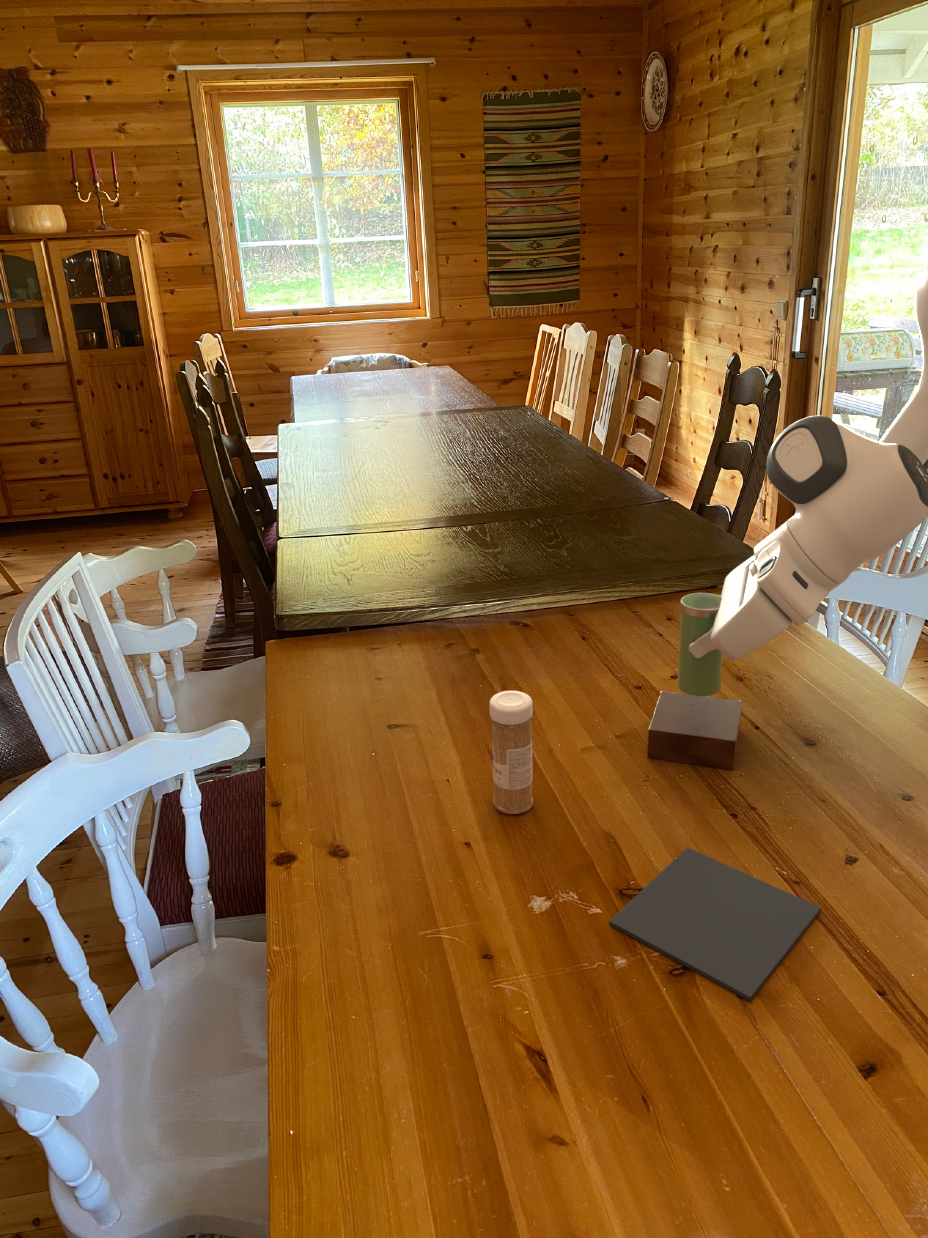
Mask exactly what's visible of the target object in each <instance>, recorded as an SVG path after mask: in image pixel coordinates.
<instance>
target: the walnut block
mask: <svg viewBox="0 0 928 1238" xmlns="http://www.w3.org/2000/svg"><path fill="white" fill-rule="evenodd" d="M742 709H743V700H739V699H730V698H724V697H714V696H694V695H690V694H687V693H683V692H682V693H680V692H673V691H665V690H662V691H660V694H659V697H658V700H657V703H656V706H655V709H654V712H653V715H652V718H651V721H650V724H649V727H648V732H647V752H646V753H647V755H646V757H647V759H650V760H651V759H653V760H659V761H665V762H672V763H673V762H674V763H679V764H680V763H681V764H686V765H693V766H701V767H706V768H715V769H722V770H726V771H734V768H735V762H736V756H737V749H738V743H739V736H740V731H741V721H742Z"/></svg>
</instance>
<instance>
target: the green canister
mask: <svg viewBox="0 0 928 1238" xmlns="http://www.w3.org/2000/svg"><path fill="white" fill-rule="evenodd" d="M721 600H722V597H721V595H718V594H715V593H708V592H694V593H689V594H686V595H684V596H682V597H681V598H680V608H679V609H680V625H679V643H678V644H679V647H678V665H677V666H678V667H677V688H678V690H680V691H681V692H682V693H683V694H690V695H694V696H707V697H710V696H714V695H716V694H717V693H719V692H720V691H721V689H722V688H721V687H722V676H723V675H722V673H723V659H724V654H723V653H722V652H721V651H720V650H719V649H715V650H712V651H709V652H708V653H706V654H705V655H704V656H702V657H701V658H696V657H695V656H694V655H693V654H692V653H691V652H690V651H689V646H690V643H691V641H693V640H694V639H696V638H697V637H698V636H699V635H701V636H702V635H704V634H706V633H707V632H709V631H710V629H711V628H712V627H713V626H714V622H715V618H716V613H717V611H718V610H719V608H720V604H721Z"/></svg>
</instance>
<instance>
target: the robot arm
mask: <svg viewBox="0 0 928 1238" xmlns="http://www.w3.org/2000/svg"><path fill="white" fill-rule="evenodd" d="M914 315H915V319H916V325H917V327H918V331H919V335H920V341H921V347H922V371H921V375H920V378H919V382H918V385H917V387H916V388H915V391H913V394H912V395H911V397H910V398H909V400H908V401H907V403H906V404H905V405H904V407H903V408H902V409H901V411H900V412H899V413H898V415H897V416H896V418H895V419H894V420H893V422H892V423H891V424H890V425H889V427H888V428H887V430H886V431H885V433H884V434H883V435H882V437H881V438H880V440H879V441H877V440H875V439H871V438H868V437H866V436H863V435H862V434H859V433H857V432H855V431H854V430H852V429H851V428H849V427H847V426H846V425H843V424H842V423H840V422H838V421H837V420H834V419H833V418H831V417H829V416H826V415H811V416H806V417H804V418H801V419H799V420H796V421H795V422H793V423H791V424H790V425H788V426H787V427H786V428H784V430H782V431H781V432H780V434H778V435H777V437H776V438H775V440H774V442H773V443H772V445H771V447H770V449H769V451H768V454H767V457H766V464H765V470H766V476H767V478H768V480H769V482H770V483H771V484H772V486H773V487H774V489H775V490H776V491H777V492H778V493H779V494H780V495H781V496H782V497H784V498H785V499H787V500H788V501H789V502H790V503H791V504H793V506H794V508H795V512H794V515H792V516H791V517H790V518H788V519H787V520H786V521H785V522H784V523H783V524H781V525H780V526H779V527H777V528H776V529H775V530H773V531H772V532H771V533H770V534H768V535H767V536H766V537H764V538H763V539H762V540H760V541H759V542H758V543H757V544H756V545H755V546H753V554H752V556H750V557H749V558H747V559H746V560H745V561H743V562H742V563H740V564H739V565H738V566H736V567H735V568H734V569H732V570H731V571H730V572H729V573H728V574H727V575H726V577H725V578H724V581H723V585H722V586H723V587H722V590H721V594H720V596H721V597H722V600H721V604H720V608H719V610H718V611H717V613H716V618H715V622H714V626H713V627H712V628H711V629H710V631H709V632H707V633H706V634H704V635H702V636H701V635H699V636H698V637H697V638H696V639H694V640H693V641H691V643H690V646H689V651H690V652H691V653H692V654H693V655H694V656H695V657H696V658H701V657H702V656H704V655H705V654H706V653H708V652H709V651H712V650H715V649H719V650H720V651H721V652H722V653H723V656H724V657H725V658H726V659H728V660H729V661H736V660H740V659H743V658H745V657H746V656H749V655H750V654H751V653H753V652H755V651H757V650H758V649H759V648H761V647H762V646H764V645H766V644H767V643H769V642H771V641H772V640H774V639H775V638H777V637H778V636H779V635H781V634H783V633H784V632H785V630H788V629H789V628H790V626H791V625H792V623H794V624H795V625H796V626H801V625H804V623H806V622H807V621H809V620H810V619H811V618H812V617H813V616H814V615H815V614H816V611H817V610H818V608H819V606H820V604H821V602H822V601H823V600H824V599H825V598H826V597H827V596H828V595H830V593H831V592H832V591H833V590H835V589H836V588H838V587H839V586H840V585H842V584H843V583H844V582H845V581H847V580H848V578H849V577H850V576H851V574H852V573H853V572H854V571H855V570H856V569H857V568H859V567H860V566H861V565H864V564H866V563H869V562H872V561H874V560H876V559H878V558H879V557H881V556H882V555H884V554H885V553H887V552H888V551H889V550H891V549H893V547H894V546H896V545H897V544H898V543H900V542H901V541H902V540H904V539H905V538H906V537H907V536H908V535H910V534H911V533H913V531H914V530H915V529H917V528H918V527H919V526H920V525H921V524H922V523H923V522H924V521H925V520H926V519H927V517H928V263H927V264H926V265H925V268H923V271H922V273H921V274H920V276H919V278H918V280H917V283H916V286H915V293H914Z"/></svg>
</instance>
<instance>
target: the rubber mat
mask: <svg viewBox="0 0 928 1238" xmlns="http://www.w3.org/2000/svg"><path fill="white" fill-rule="evenodd" d="M821 912H822V907H821V906H819V905H816V904H815V903H813V902H810V901H808V900H805V899H803V898H801V897H799V896H797V895H794V894H792V893H790V892H788V891H786V890H784V889H781V888H779V887H776V886H774V885H772V884H770V883H767V882H766V881H763V880H761V879H759V878H757V877H755V876H752V875H750V874H748V873H746V872H743V871H740V870H739V869H736V868H734V867H733V866H730V865H728V864H726V863H723V862H721V861H718V860H716V859H714V858H712V857H710V856H707V855H706V854H704V853H701V852H699V851H697V850H694V849H692V848H690V847H686V848H685V849H684V850H683V851H682V852H681V853H680V854H679V855H678V856H677V857H675V858H674V860H672V861H671V862H670V863H669V864H668V865H667V866H666V867H665V868H664V869H663V870H662V871H661V872H659V874H658V875H656V876H655V877H654V878H653V879H652V880H651V881H650V882H649V883H648V884H647V885H646V886H645V887H644V888H643V889H642V890H640V892H638V893H637V894H636V895H635V896H634V897H633V898H632V899H631V900H630V901H629V902H628V903H627V904H626V905H625V906H623V908H621V910H619V911H618V912H617V913H616V914H615V915H614V916H613V917H612V918H611V919H610V920H609V921H608V922H609V923H608V924H609V926H610V927H612V928H613V929H616V930H617V931H620V932H621V933H623V934H625V935H627V936H628V937H631V938H632V939H634V940H636V941H638V942H640V943H642V944H643V945H645V946H646V947H649V948H651V949H652V950H655V951H656V952H658V953H660V954H662V955H664V956H665V957H667V958H670V959H671V960H672V961H675V962H676V963H678V964H681V965H682V966H684V967H686V968H688V969H689V970H691V971H693V972H694V973H697V974H699V975H700V976H702V977H704V978H705V979H708V980H709V981H711V982H713V983H715V984H717V985H718V986H720V987H722V988H724V989H726V990H728V991H730V992H732V993H733V994H736V995H737V996H739V997H741V998H742V999H744V1000H746V1001H748V1002H751V1001H752V1000H753V999H754V998H755V996H756V995H757V993H758V992H759V991H760V990H761V989H762V987H763V986H764V985H765V983H766V982H767V981H768V980H769V978H770V977H771V976H772V975H773V973H774V972H775V971H776V969H777V968H778V967H779V966H780V964H781V963H782V962H783V961H784V959H785V958H786V957H787V955H788V954H789V953H790V952H791V951H792V949H793V948H794V946H795V945H796V944H797V943H798V942H799V940H800V939H801V938H802V937H803V936H804V934H805V933H806V931H807V930H808V929H809V927H811V925H812V924H813V922H815V920H816V919H817V917H818V916H819V915H820V913H821Z"/></svg>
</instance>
